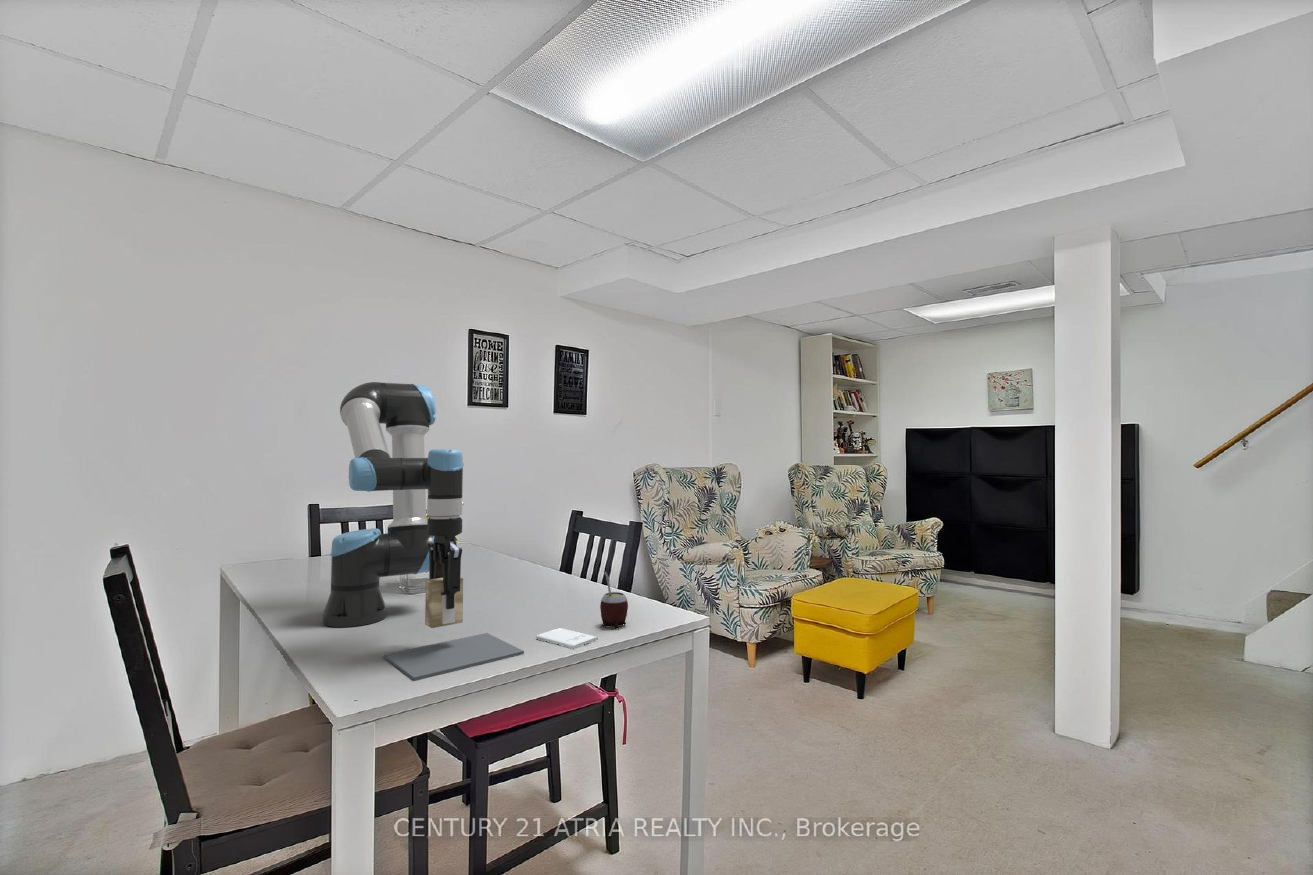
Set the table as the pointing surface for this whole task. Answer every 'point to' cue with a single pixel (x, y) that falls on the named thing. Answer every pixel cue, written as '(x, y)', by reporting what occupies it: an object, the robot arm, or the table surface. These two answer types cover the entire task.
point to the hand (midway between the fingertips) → (444, 620)
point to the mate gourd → (613, 607)
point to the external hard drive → (566, 638)
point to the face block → (440, 603)
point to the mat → (451, 655)
